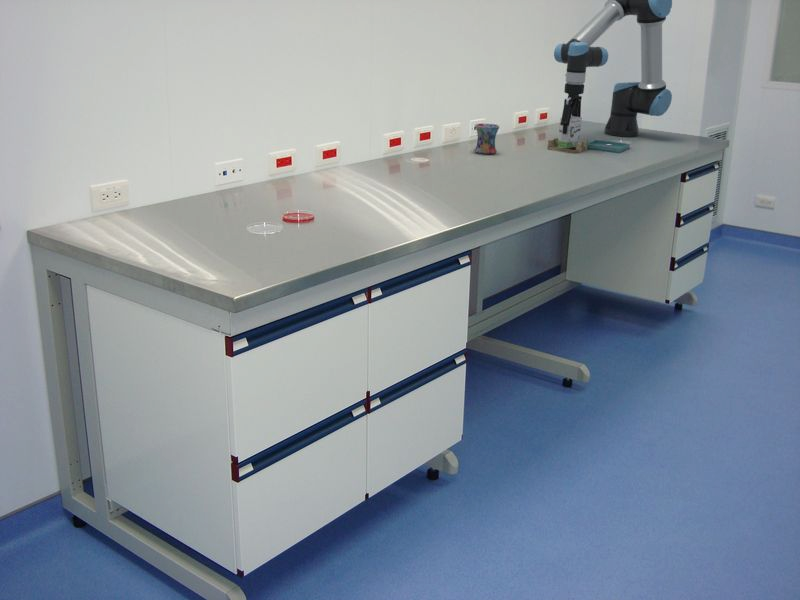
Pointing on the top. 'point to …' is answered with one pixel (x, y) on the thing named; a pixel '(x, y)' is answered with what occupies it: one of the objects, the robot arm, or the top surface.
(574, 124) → the ink box
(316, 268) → the top surface
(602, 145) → the tray
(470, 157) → the top surface
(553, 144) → the frame
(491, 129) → the mug
